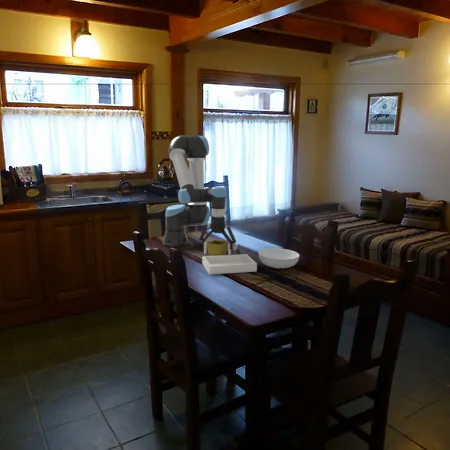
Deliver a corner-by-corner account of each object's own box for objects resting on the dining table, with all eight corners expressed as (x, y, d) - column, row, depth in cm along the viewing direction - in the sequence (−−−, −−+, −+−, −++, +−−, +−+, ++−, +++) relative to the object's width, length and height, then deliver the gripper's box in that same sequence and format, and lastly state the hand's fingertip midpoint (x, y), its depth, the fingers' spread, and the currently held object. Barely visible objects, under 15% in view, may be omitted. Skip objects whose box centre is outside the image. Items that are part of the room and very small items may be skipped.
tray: (202, 263, 222) (202, 256, 221) (246, 261, 228) (246, 254, 227) (209, 274, 206) (209, 266, 205) (256, 271, 212) (256, 263, 211)
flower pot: (206, 258, 231) (206, 242, 229) (214, 255, 239) (214, 239, 237) (220, 261, 227) (220, 245, 225) (228, 257, 235) (228, 241, 233)
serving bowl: (297, 274, 210) (298, 260, 208) (255, 270, 214) (256, 257, 212) (299, 261, 230) (300, 249, 228) (260, 258, 234) (261, 246, 232)
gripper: (193, 215, 227) (193, 253, 232) (239, 219, 221) (237, 258, 226) (198, 213, 234) (197, 250, 239) (242, 216, 228) (241, 254, 233)
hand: (217, 254), depth 232 cm, fingers open, 13 cm apart
